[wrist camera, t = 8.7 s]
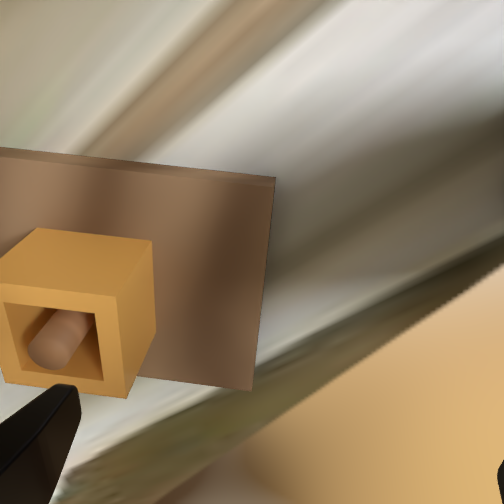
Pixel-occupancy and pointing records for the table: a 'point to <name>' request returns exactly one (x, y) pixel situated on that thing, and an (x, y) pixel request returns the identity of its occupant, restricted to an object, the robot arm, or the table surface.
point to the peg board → (155, 253)
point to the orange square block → (78, 307)
